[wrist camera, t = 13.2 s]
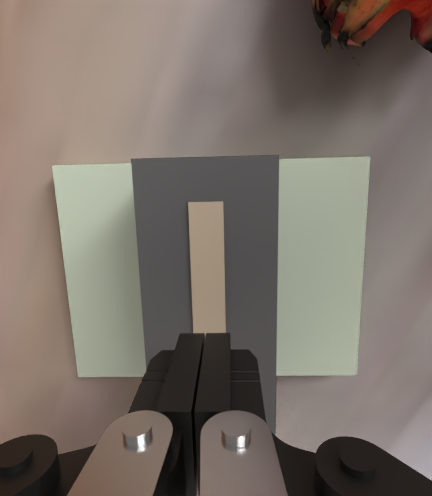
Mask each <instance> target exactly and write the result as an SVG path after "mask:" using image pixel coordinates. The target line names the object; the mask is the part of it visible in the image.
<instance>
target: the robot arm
mask: <svg viewBox="0 0 432 496" xmlns="http://www.w3.org/2000/svg"><path fill="white" fill-rule="evenodd" d="M197 491H198V494H199V496H432V481H431V480H430V479H428V478H426V477H425V476H423V475H422V474H420V473H419V472H417V471H415V470H414V469H412V468H411V467H409V466H408V465H406V464H404V463H403V462H401V461H400V460H398V459H397V458H395V457H394V456H392V455H390V454H389V453H387V452H386V451H384V450H383V449H381V448H379V447H378V446H376V445H374V444H372V443H370V442H368V441H365V440H362V439H359V438H354V437H335V438H331V439H328V440H327V441H325V442H323V443H322V444H321V445H320V446H319V448H318V449H317V451H316V453H313V452H309V451H305V450H302V449H298V448H295V447H292V446H290V445H288V444H286V443H284V442H283V441H281V440H280V439H278V438H277V437H276V436H275V435H274V434H273V433H272V432H271V430H270V428H269V426H268V425H267V422H266V417H265V410H264V403H263V396H262V389H261V382H260V375H259V368H258V361H257V358H256V357H255V356H254V355H253V354H252V352H251V351H250V350H249V349H231V339H230V333H206V336H205V334H204V333H180V334H179V337H178V341H177V344H176V347H175V350H161V351H160V352H159V353H158V354H157V355H155V356H154V357H153V358H152V359H151V360H150V362H149V365H148V367H147V369H146V373H145V374H144V377H143V379H142V382H141V384H140V386H139V389H138V391H137V393H136V396H135V398H134V400H133V403H132V405H131V408H130V410H129V412H128V414H126V415H123V416H121V417H119V418H118V419H116V420H115V421H113V422H112V423H111V424H110V425H109V426H108V427H107V428H106V430H105V431H104V433H103V435H102V436H101V438H100V440H99V441H98V443H97V444H96V445H94V446H91V447H87V448H84V449H80V450H76V451H72V452H67V453H63V454H59V455H58V450H57V445H56V443H55V441H54V440H53V439H51V438H50V437H48V436H45V435H36V434H34V435H26V436H21V437H18V438H15V439H12V440H9V441H7V442H5V443H3V444H1V445H0V496H197Z"/></svg>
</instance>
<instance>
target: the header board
mask: <svg viewBox="0 0 432 496" xmlns="http://www.w3.org/2000/svg"><path fill="white" fill-rule="evenodd" d="M52 169H53V177H54V185H55V194H56V202H57V210H58V218H59V226H60V234H61V243H62V251H63V259H64V267H65V275H66V283H67V292H68V300H69V308H70V316H71V324H72V332H73V341H74V349H75V357H76V365H77V373H78V377H144V374H145V373H146V359H145V346H144V332H143V318H142V304H141V290H140V277H139V263H138V249H137V235H136V222H135V208H134V194H133V180H132V166H131V163H125V164H91V165H56V166H52ZM369 172H370V156H367V157H332V158H298V159H279V213H278V285H277V357H276V376H326V375H357V361H358V346H359V330H360V314H361V298H362V282H363V267H364V251H365V235H366V219H367V204H368V188H369Z"/></svg>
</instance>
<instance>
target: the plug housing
mask: <svg viewBox="0 0 432 496" xmlns="http://www.w3.org/2000/svg"><path fill="white" fill-rule="evenodd" d="M131 166H132V180H133V194H134V208H135V222H136V235H137V249H138V263H139V277H140V290H141V304H142V318H143V332H144V346H145V359H146V369H147V367H148V365H149V362H150V360H151V359H152V358H153V357H154V356H155V355H157V354H158V353H159V352H160V351H161V350H175V347H176V344H177V341H178V337H179V334H180V333H204V334H205V336H206V333H230V339H231V349H249V350H250V351H251V352H252V354H253V355H254V356H255V357H256V358H257V361H258V368H259V375H260V382H261V389H262V396H263V403H264V410H265V417H266V422H267V425H268V426H269V428H270V430H271V432H272V433H273V434H274V435H275V429H276V357H277V285H278V213H279V155H259V156H220V157H181V158H142V159H131Z"/></svg>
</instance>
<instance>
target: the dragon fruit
mask: <svg viewBox="0 0 432 496" xmlns="http://www.w3.org/2000/svg"><path fill="white" fill-rule="evenodd" d="M401 9H406V10H409V11H410V14H411V30H410V38H411V40H413V38H414V37H415V39H416V40H417V42H418V43H419V44H420V45H422V46H423V47H424V48H425V49H426V50H428V51H430V52H431V53H432V0H313V13H314V17H315V20H316V23H317V25H318V27H319V28H320V29H321V30H323V32H322V35H321V41H322V44H323V46H324V48H325V50H326V51H328V50H329V49H330V48H331V35H332V37H333V38H334V39H335V40H337V42H339V44H340V45H341V43H343V45H344V46H345V47H346V48H348V46H347V44H351V45H356V46H360V47H364V45H365V41H366V40H367V39H369V38H370V37H371V36H372V35H373V34H374V33H375V32H376V31H377V30H378V29H379V28H380V27H381V26H382V25H383V24H384V23H385V22H386V21H387V20H388V19H389V18H390V17H391V16H393V15H394V14H395V13H396V12H398V11H399V10H401ZM336 11H338V13H337V17H336ZM335 17H336V19H335ZM334 19H335V21H334ZM329 21H330V23H332V22H333V21H334V22H333V23H332V25H331V27H330V24H329ZM341 48H342V46H341ZM342 49H343V48H342ZM353 59H354V58H353ZM358 66H359V65H358Z"/></svg>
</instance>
